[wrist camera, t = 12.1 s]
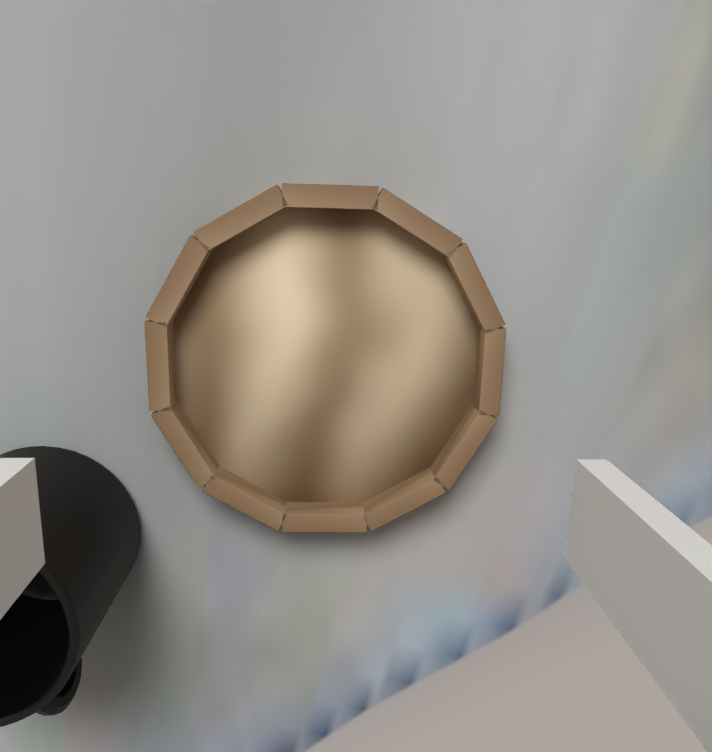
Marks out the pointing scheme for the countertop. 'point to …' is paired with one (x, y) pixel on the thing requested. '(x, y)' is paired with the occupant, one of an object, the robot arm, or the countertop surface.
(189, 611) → the countertop surface
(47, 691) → the mug
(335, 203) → the tray
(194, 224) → the countertop surface
